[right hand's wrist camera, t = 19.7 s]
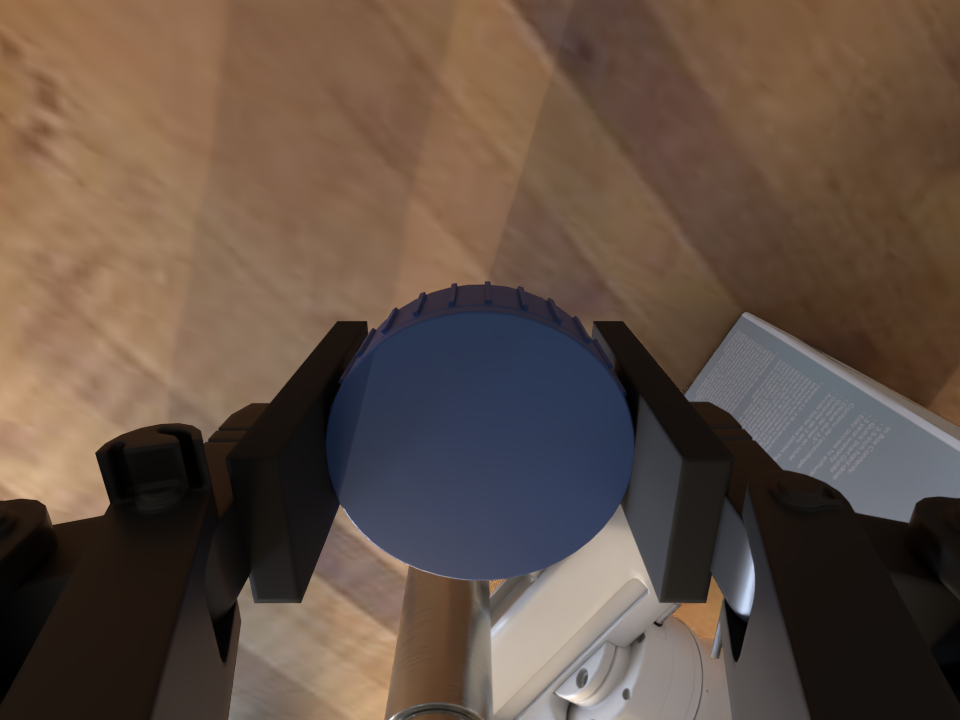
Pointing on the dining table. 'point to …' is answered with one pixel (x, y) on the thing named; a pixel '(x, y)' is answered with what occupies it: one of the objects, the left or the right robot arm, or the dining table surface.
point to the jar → (442, 651)
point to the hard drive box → (831, 420)
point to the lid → (480, 434)
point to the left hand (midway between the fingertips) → (435, 569)
